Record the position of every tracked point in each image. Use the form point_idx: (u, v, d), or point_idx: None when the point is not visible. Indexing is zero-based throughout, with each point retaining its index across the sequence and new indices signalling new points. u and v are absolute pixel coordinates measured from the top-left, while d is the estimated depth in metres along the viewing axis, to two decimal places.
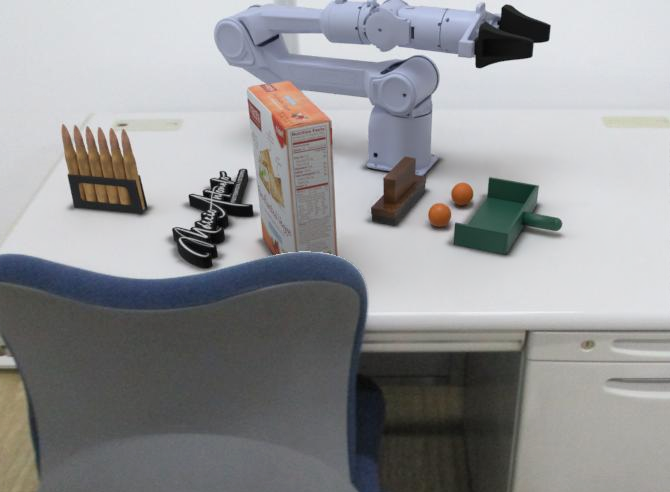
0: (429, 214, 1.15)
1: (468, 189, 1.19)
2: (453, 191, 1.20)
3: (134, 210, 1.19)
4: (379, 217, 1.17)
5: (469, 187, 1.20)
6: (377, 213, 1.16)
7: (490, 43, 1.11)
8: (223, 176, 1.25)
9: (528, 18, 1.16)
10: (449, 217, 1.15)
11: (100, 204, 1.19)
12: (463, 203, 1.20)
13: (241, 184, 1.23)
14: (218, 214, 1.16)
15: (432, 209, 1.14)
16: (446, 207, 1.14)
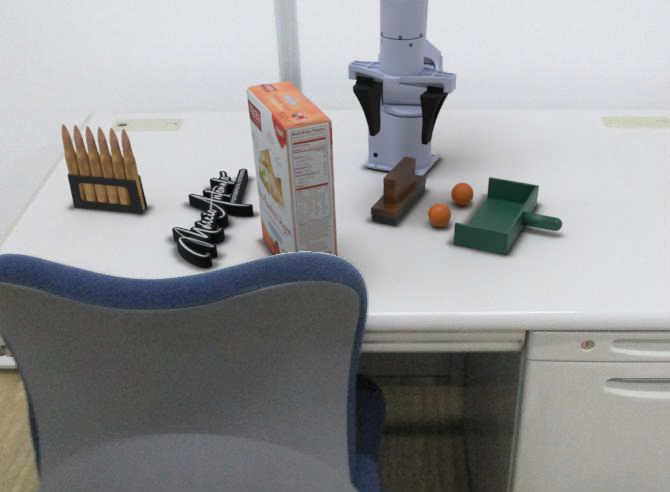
0: (429, 214, 1.15)
1: (468, 189, 1.19)
2: (453, 191, 1.20)
3: (134, 210, 1.19)
4: (379, 217, 1.17)
5: (469, 187, 1.20)
6: (377, 213, 1.16)
7: None
8: (223, 176, 1.25)
9: (424, 122, 1.10)
10: (449, 217, 1.15)
11: (100, 204, 1.19)
12: (463, 203, 1.20)
13: (241, 184, 1.23)
14: (218, 214, 1.16)
15: (432, 209, 1.14)
16: (446, 207, 1.14)
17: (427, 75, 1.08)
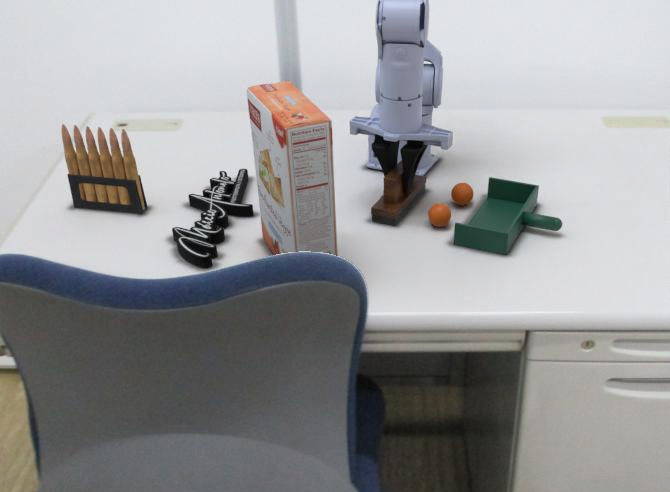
0: (429, 214, 1.15)
1: (468, 189, 1.19)
2: (453, 191, 1.20)
3: (134, 210, 1.19)
4: (379, 217, 1.17)
5: (469, 187, 1.20)
6: (377, 213, 1.16)
7: None
8: (223, 176, 1.25)
9: (404, 173, 1.16)
10: (449, 217, 1.15)
11: (100, 204, 1.19)
12: (463, 203, 1.20)
13: (241, 184, 1.23)
14: (218, 214, 1.16)
15: (432, 209, 1.14)
16: (446, 207, 1.14)
17: (425, 132, 1.13)
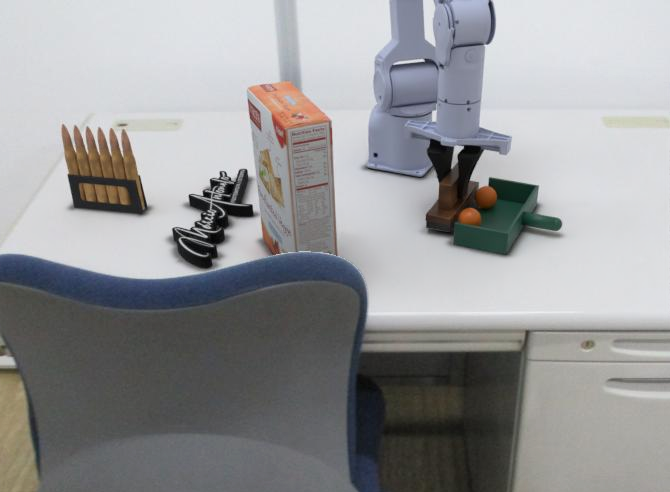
0: (475, 223, 1.13)
1: None
2: (491, 199, 1.18)
3: (134, 210, 1.19)
4: (434, 224, 1.14)
5: None
6: (432, 220, 1.13)
7: None
8: (223, 176, 1.25)
9: (460, 179, 1.13)
10: None
11: (100, 204, 1.19)
12: (476, 199, 1.19)
13: (241, 184, 1.23)
14: (218, 214, 1.16)
15: None
16: None
17: (482, 137, 1.10)
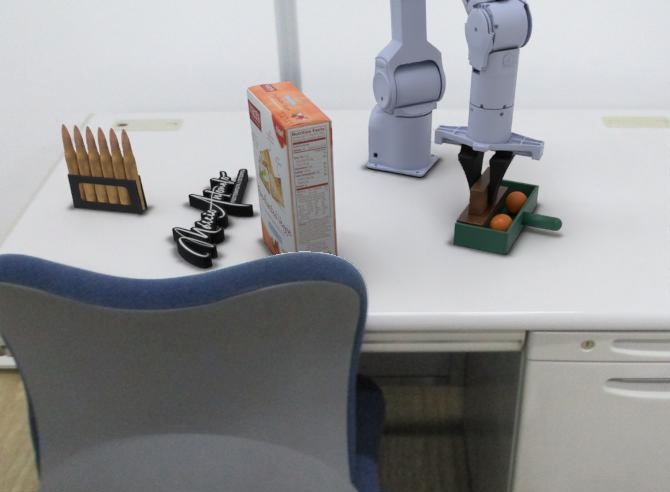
0: None
1: (512, 194, 1.17)
2: (507, 209, 1.18)
3: (134, 210, 1.19)
4: None
5: (512, 193, 1.18)
6: None
7: None
8: (223, 176, 1.25)
9: (491, 184, 1.12)
10: (510, 221, 1.12)
11: (100, 204, 1.19)
12: (521, 205, 1.17)
13: (241, 184, 1.23)
14: (218, 214, 1.16)
15: (490, 225, 1.12)
16: (502, 215, 1.12)
17: (515, 142, 1.09)
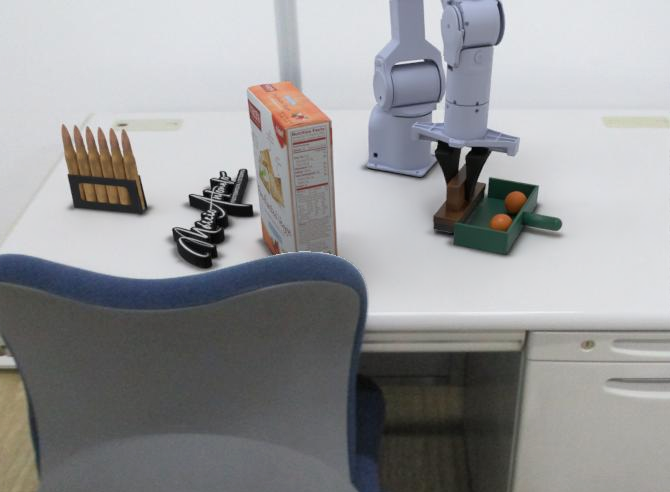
0: None
1: (511, 194, 1.17)
2: (507, 210, 1.18)
3: (134, 210, 1.19)
4: (441, 225, 1.14)
5: (511, 193, 1.18)
6: (440, 221, 1.13)
7: None
8: (223, 176, 1.25)
9: (468, 180, 1.13)
10: (509, 221, 1.12)
11: (100, 204, 1.19)
12: (520, 205, 1.17)
13: (241, 184, 1.23)
14: (218, 214, 1.16)
15: (490, 225, 1.12)
16: (501, 215, 1.12)
17: (490, 138, 1.10)
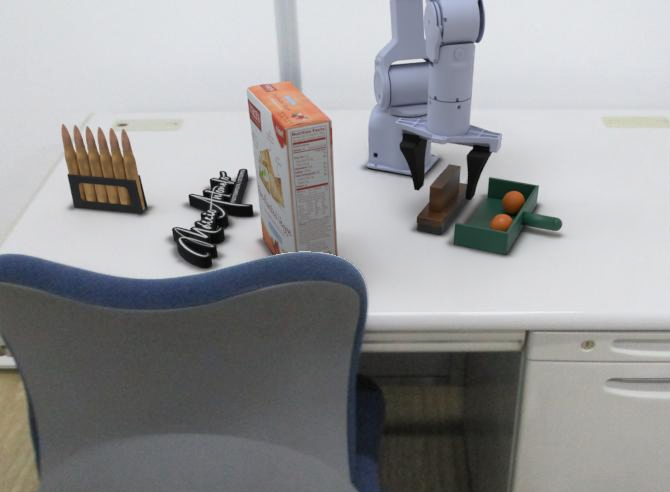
0: None
1: (507, 195, 1.17)
2: (505, 210, 1.18)
3: (134, 210, 1.19)
4: (425, 226, 1.15)
5: (507, 193, 1.18)
6: (423, 222, 1.14)
7: None
8: (223, 176, 1.25)
9: (469, 179, 1.13)
10: (510, 222, 1.12)
11: (100, 204, 1.19)
12: (517, 203, 1.17)
13: (241, 184, 1.23)
14: (218, 214, 1.16)
15: (491, 224, 1.12)
16: (503, 215, 1.12)
17: (473, 135, 1.10)
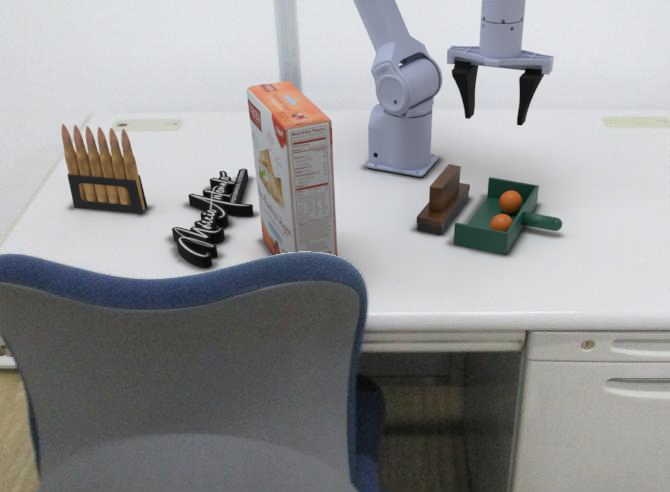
0: None
1: (501, 196, 1.18)
2: (504, 211, 1.19)
3: (134, 210, 1.19)
4: (425, 226, 1.15)
5: (502, 195, 1.18)
6: (423, 222, 1.14)
7: None
8: (223, 176, 1.25)
9: (521, 104, 1.15)
10: (510, 221, 1.12)
11: (100, 204, 1.19)
12: (513, 201, 1.17)
13: (241, 184, 1.23)
14: (218, 214, 1.16)
15: (491, 224, 1.12)
16: (502, 215, 1.12)
17: (525, 58, 1.12)
